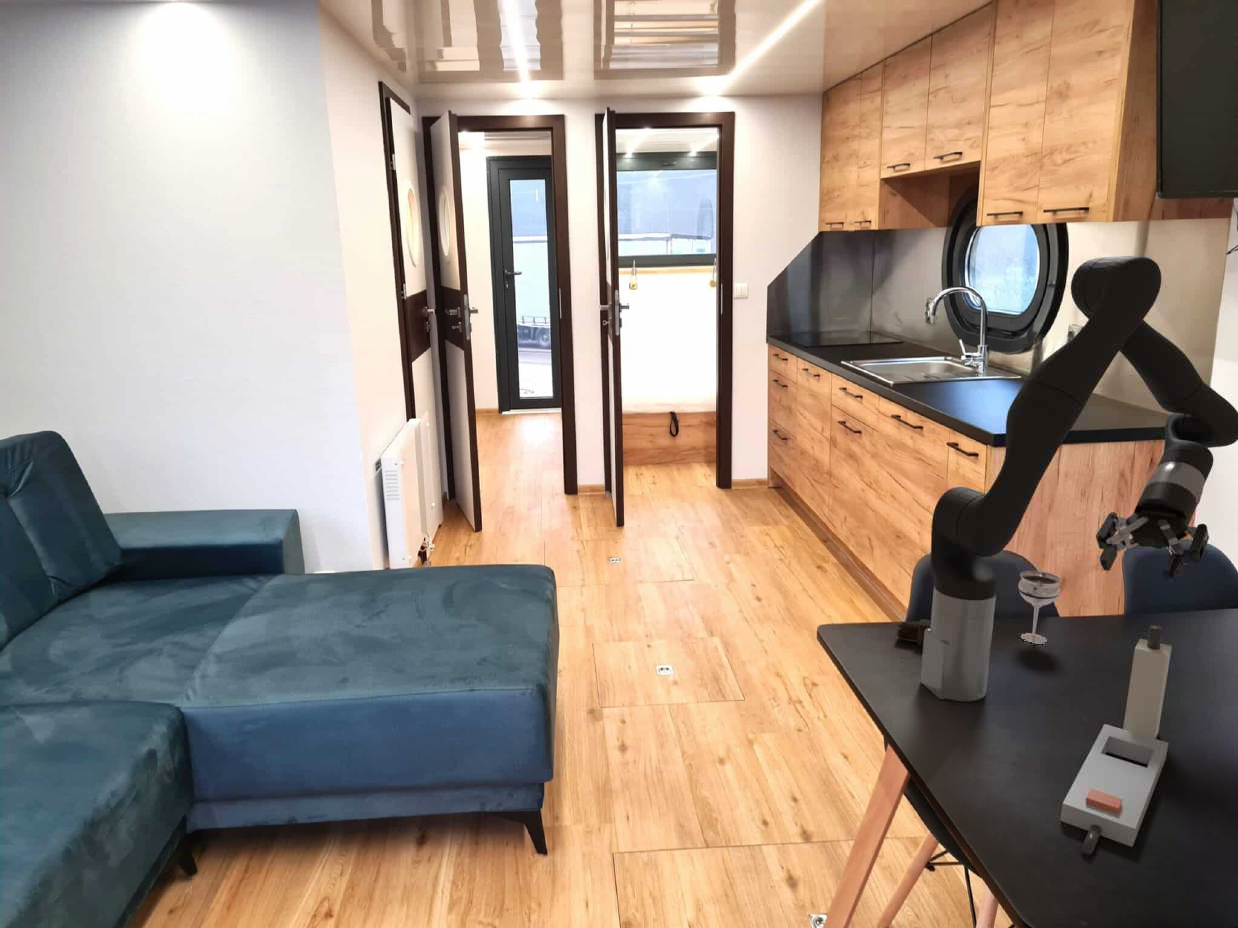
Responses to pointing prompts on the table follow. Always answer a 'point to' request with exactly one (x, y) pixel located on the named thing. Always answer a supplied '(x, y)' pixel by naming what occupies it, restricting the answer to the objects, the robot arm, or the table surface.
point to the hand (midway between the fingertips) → (1135, 572)
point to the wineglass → (1038, 596)
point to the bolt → (914, 631)
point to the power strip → (1114, 787)
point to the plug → (1147, 684)
